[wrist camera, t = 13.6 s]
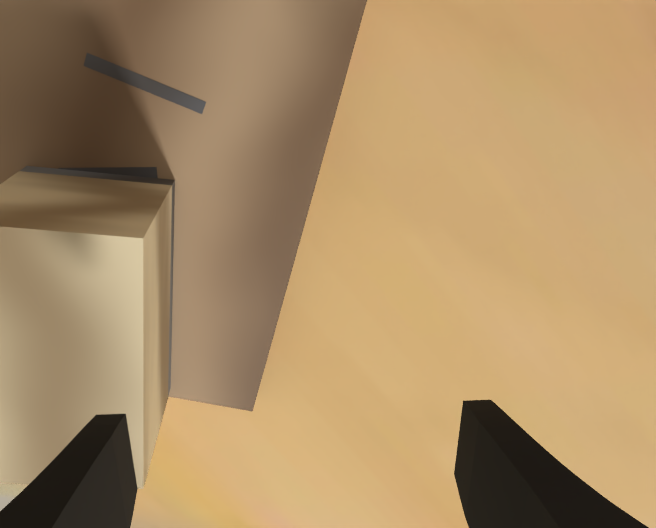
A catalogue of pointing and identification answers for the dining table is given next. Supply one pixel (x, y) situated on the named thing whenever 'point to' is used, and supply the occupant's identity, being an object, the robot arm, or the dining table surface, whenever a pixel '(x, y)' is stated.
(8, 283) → the block
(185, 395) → the plank
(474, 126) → the dining table surface
